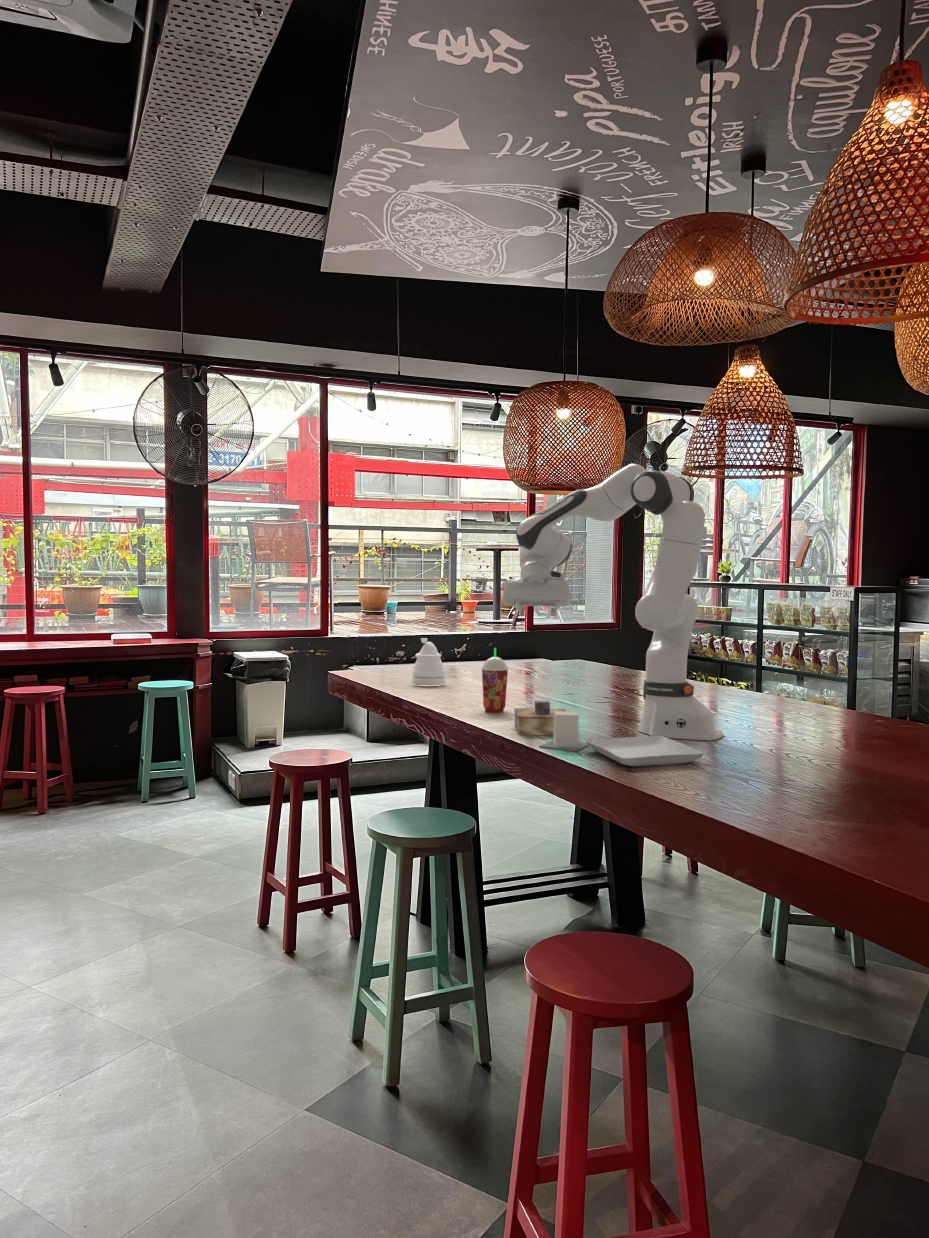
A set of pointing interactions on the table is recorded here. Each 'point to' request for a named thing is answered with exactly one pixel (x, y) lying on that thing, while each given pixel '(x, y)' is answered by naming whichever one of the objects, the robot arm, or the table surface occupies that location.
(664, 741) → the salad plate
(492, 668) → the smoothie
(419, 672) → the honey pot
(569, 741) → the cap
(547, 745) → the mat
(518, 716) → the box
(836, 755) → the table surface
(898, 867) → the table surface
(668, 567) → the robot arm
